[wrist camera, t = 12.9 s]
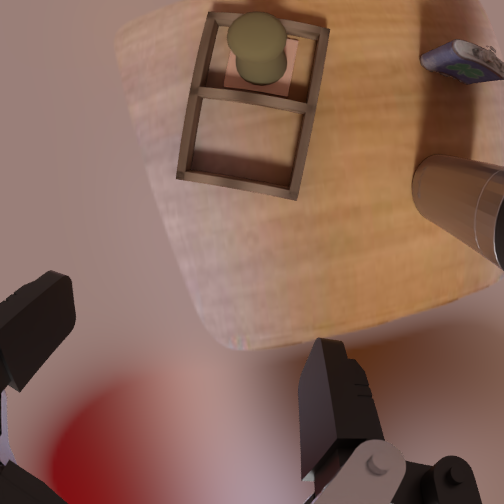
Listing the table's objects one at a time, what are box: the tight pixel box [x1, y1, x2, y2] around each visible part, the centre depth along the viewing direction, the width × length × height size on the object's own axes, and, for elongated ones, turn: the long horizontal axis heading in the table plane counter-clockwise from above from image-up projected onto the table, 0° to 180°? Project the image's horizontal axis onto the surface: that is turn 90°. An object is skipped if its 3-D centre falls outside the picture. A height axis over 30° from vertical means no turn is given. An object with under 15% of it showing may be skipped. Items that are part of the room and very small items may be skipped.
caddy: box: [176, 12, 330, 201], centre depth 30 cm, size 14×21×2 cm, turn 170°
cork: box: [227, 12, 287, 86], centre depth 24 cm, size 6×6×11 cm
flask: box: [420, 39, 504, 85], centre depth 22 cm, size 9×3×11 cm, turn 87°
